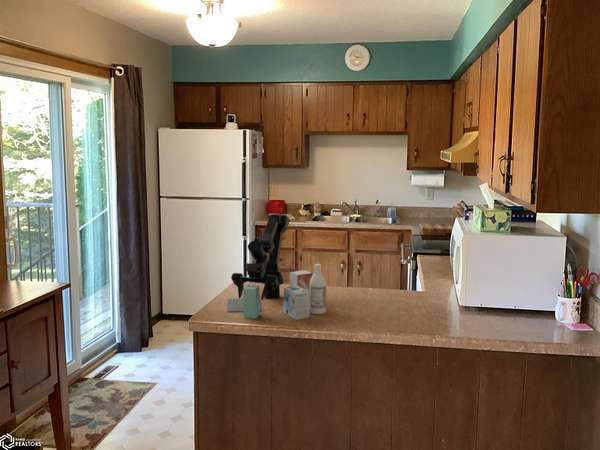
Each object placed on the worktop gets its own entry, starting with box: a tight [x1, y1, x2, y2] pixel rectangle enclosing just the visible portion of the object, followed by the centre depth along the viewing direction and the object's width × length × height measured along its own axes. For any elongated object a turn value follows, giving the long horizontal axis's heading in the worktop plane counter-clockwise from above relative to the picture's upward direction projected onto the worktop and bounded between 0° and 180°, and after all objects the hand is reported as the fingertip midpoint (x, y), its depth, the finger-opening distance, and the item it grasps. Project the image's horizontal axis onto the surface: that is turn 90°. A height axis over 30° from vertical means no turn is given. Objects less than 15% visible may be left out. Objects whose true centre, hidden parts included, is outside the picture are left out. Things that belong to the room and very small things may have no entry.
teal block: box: [242, 284, 261, 320], centre depth 216 cm, size 5×5×12 cm
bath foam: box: [309, 263, 327, 315], centre depth 222 cm, size 7×7×20 cm
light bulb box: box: [283, 286, 310, 321], centre depth 219 cm, size 11×7×11 cm, turn 29°
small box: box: [289, 269, 313, 291], centre depth 238 cm, size 8×6×13 cm
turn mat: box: [226, 298, 262, 313], centre depth 232 cm, size 14×18×1 cm
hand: (250, 298), depth 215 cm, fingers open, 9 cm apart
